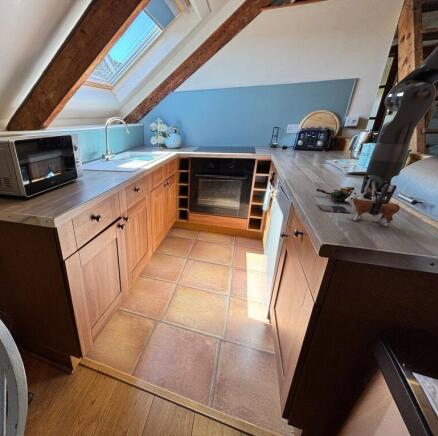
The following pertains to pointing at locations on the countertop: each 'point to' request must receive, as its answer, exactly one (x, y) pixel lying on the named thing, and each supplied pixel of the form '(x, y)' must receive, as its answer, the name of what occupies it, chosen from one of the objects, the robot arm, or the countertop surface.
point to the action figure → (339, 193)
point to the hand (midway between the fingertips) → (368, 211)
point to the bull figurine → (364, 205)
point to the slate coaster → (333, 208)
